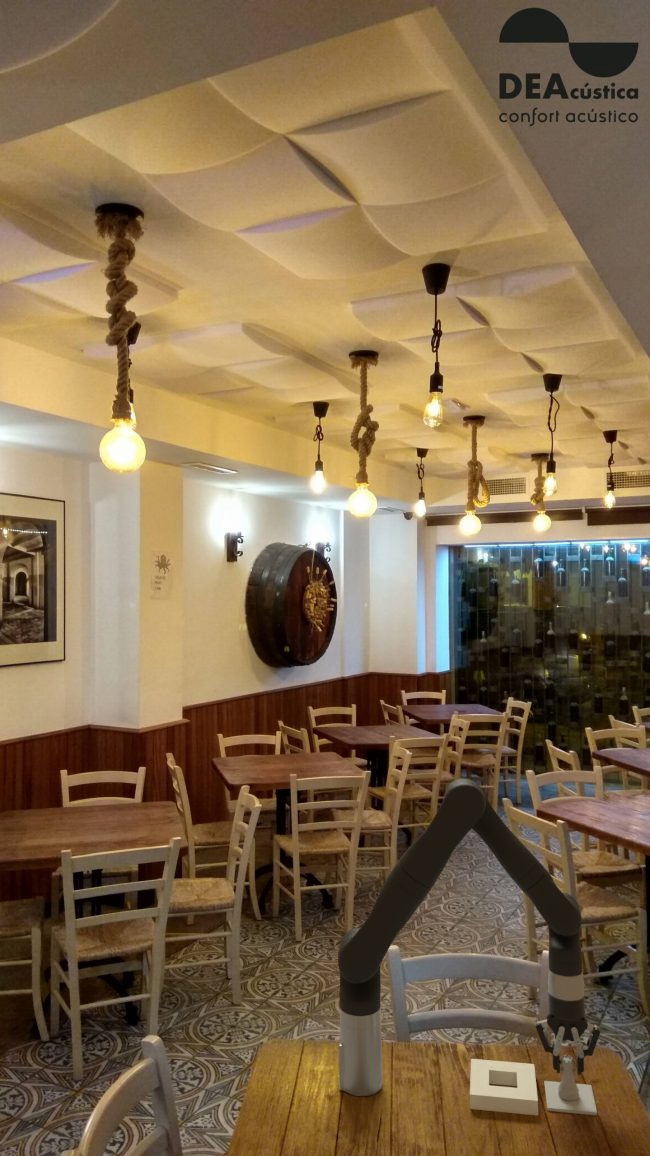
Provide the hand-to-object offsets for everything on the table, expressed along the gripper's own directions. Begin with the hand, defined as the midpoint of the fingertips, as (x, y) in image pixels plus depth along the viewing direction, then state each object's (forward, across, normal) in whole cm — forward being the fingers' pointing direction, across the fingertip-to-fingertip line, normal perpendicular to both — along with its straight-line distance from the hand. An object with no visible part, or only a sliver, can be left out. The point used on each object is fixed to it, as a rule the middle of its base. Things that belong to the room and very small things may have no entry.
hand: (568, 1071), depth 176 cm
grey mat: (+6, 0, 0) cm, 6 cm away
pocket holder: (+6, -14, 0) cm, 15 cm away
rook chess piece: (+5, 0, 0) cm, 5 cm away
